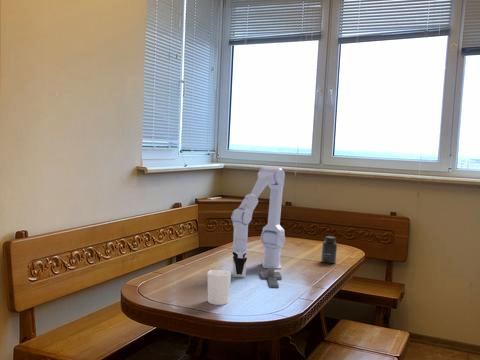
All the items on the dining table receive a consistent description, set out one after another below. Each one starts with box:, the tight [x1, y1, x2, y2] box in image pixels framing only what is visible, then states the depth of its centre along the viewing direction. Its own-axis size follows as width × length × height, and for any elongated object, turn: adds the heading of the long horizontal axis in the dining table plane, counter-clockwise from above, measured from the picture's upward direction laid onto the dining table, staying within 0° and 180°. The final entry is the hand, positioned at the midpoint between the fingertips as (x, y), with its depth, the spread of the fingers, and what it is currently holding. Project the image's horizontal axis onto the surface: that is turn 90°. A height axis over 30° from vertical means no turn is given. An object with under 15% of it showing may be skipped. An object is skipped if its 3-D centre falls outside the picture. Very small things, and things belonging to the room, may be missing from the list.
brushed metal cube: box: [231, 258, 247, 279], centre depth 200 cm, size 5×5×6 cm
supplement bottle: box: [320, 235, 338, 264], centre depth 230 cm, size 7×7×12 cm
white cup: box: [207, 269, 232, 306], centre depth 166 cm, size 8×8×10 cm
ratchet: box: [259, 266, 283, 288], centre depth 195 cm, size 19×8×4 cm, turn 2°
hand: (238, 271), depth 200 cm, fingers open, 7 cm apart
